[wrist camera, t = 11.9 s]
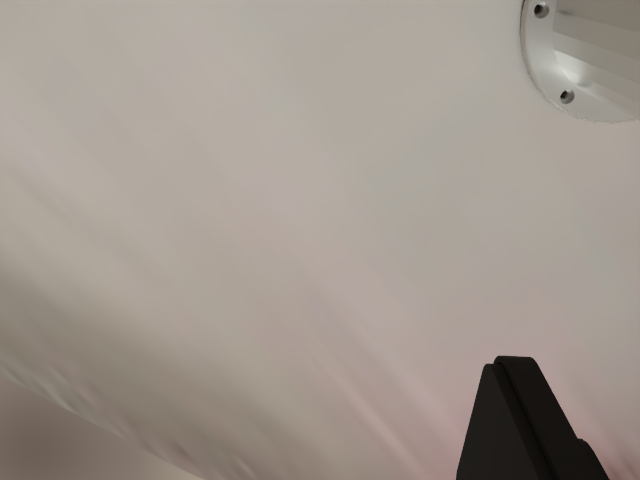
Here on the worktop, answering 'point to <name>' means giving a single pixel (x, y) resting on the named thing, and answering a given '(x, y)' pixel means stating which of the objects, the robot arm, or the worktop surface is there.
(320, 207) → the worktop surface
